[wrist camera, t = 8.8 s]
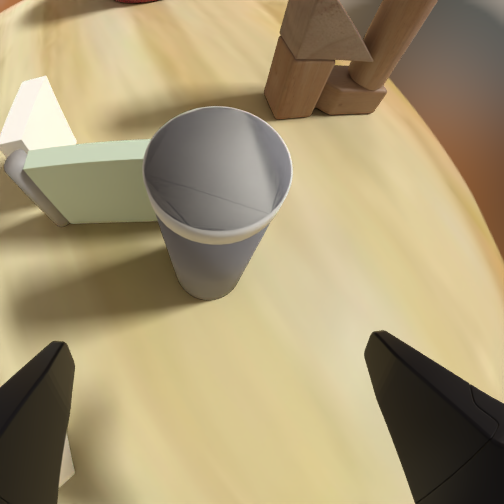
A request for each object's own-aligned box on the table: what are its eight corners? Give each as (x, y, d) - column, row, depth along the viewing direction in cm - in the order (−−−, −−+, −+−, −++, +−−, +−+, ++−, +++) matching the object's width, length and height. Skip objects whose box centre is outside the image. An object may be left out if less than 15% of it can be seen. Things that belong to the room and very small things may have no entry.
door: (52, 227, 21) (0, 175, 13) (59, 190, 21) (15, 130, 14) (231, 223, 23) (246, 161, 15) (230, 184, 24) (243, 114, 16)
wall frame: (75, 473, 16) (25, 517, 8) (51, 469, 15) (-3, 507, 8) (76, 141, 23) (46, 75, 15) (56, 144, 23) (22, 81, 15)
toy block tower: (262, 92, 27) (312, -85, 10) (357, 89, 29) (434, -45, 12) (275, 121, 26) (342, -70, 9) (373, 115, 28) (465, -21, 11)
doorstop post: (253, 282, 22) (319, 196, 9) (193, 312, 20) (178, 260, 8) (222, 225, 22) (249, 92, 10) (164, 252, 21) (123, 135, 9)
